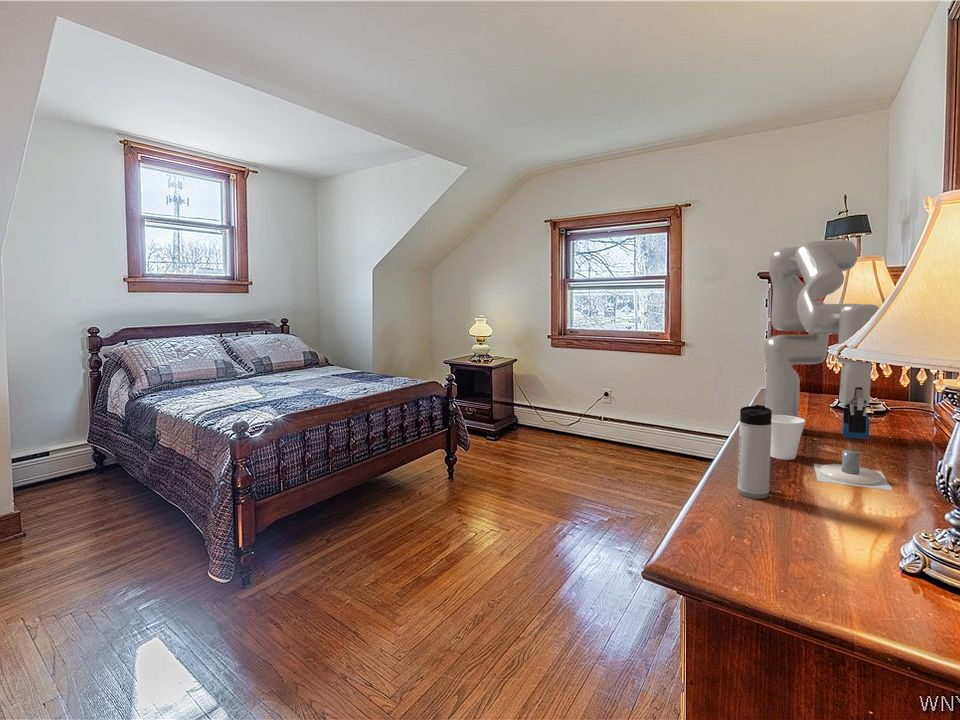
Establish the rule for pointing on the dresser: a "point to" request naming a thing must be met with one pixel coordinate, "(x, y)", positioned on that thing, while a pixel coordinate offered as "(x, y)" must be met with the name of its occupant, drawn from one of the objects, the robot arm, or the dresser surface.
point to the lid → (851, 470)
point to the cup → (785, 436)
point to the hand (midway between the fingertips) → (853, 427)
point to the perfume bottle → (854, 434)
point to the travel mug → (754, 451)
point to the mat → (820, 477)
